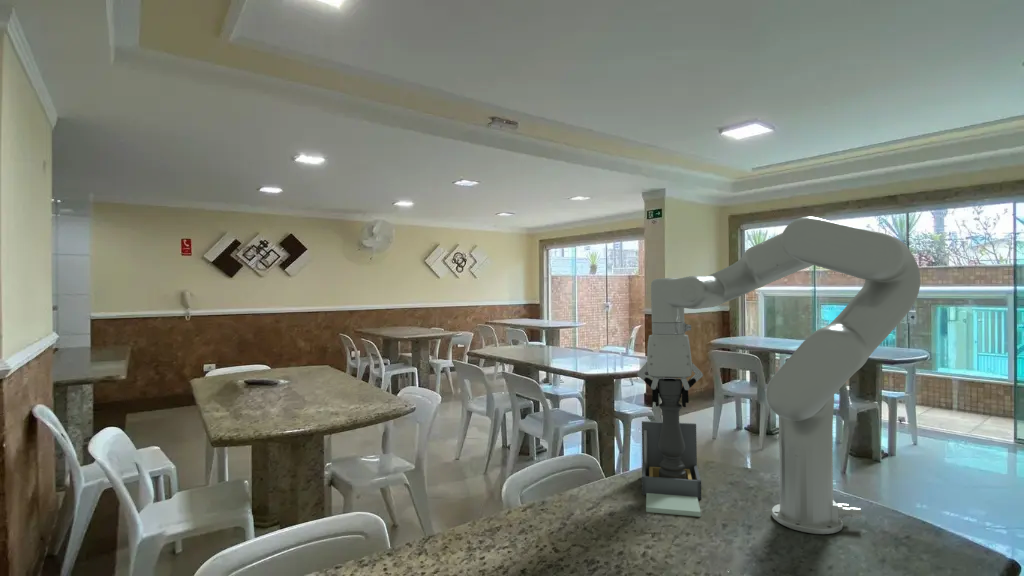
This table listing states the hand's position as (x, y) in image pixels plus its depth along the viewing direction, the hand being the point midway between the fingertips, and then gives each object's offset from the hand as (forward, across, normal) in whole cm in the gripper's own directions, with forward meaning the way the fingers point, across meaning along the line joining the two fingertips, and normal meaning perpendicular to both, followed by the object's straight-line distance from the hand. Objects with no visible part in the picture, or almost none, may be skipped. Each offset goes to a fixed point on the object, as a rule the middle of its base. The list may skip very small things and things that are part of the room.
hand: (670, 404), depth 127 cm
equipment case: (+20, +1, 0) cm, 20 cm away
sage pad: (+20, +1, +11) cm, 23 cm away
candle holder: (+19, 0, 0) cm, 19 cm away
